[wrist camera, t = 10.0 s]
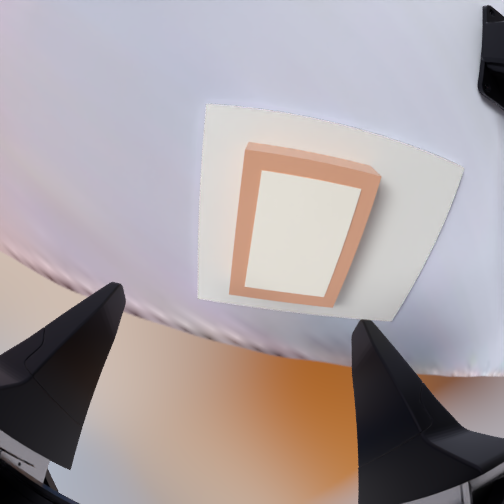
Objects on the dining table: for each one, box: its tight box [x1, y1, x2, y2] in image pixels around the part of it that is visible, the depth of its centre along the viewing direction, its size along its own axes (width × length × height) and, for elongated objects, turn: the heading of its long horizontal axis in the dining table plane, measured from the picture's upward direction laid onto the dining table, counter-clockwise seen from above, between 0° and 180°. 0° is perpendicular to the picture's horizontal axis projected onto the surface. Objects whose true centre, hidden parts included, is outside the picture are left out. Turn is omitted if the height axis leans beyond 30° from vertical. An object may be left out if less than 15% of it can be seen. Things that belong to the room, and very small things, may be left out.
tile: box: [229, 142, 382, 308], centre depth 14 cm, size 2×8×6 cm
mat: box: [198, 104, 464, 321], centre depth 15 cm, size 14×12×1 cm
